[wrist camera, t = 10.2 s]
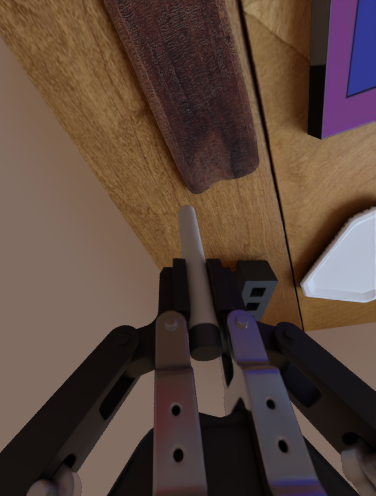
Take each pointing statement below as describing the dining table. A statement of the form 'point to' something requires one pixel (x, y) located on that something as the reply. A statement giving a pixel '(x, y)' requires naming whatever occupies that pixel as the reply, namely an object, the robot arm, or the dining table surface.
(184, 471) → the robot arm
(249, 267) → the pen block
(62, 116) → the dining table surface
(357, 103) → the book
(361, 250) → the plate
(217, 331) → the stylus
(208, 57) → the wooden tablet
